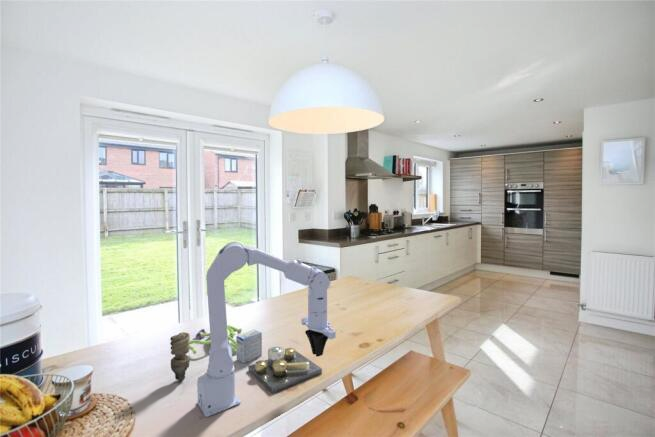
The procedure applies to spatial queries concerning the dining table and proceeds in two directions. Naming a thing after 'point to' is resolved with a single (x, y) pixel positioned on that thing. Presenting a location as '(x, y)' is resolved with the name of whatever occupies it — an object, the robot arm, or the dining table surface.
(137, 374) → the dining table surface
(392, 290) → the dining table surface
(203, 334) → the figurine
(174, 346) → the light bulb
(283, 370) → the brass lever handle
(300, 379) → the levelling base
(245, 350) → the medicine box
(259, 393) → the dining table surface
